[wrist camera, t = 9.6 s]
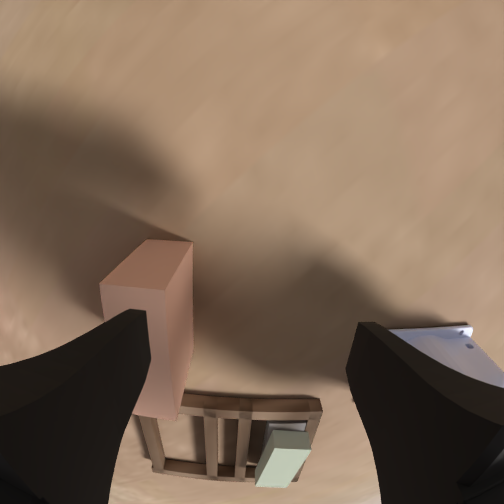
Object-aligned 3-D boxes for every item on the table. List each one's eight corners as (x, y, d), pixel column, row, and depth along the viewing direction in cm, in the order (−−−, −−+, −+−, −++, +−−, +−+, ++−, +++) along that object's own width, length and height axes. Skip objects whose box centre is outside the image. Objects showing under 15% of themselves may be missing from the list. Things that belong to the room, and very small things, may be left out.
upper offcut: (308, 431, 22) (311, 449, 20) (285, 471, 24) (286, 487, 22) (273, 429, 22) (274, 448, 20) (254, 470, 24) (255, 486, 22)
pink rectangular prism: (193, 241, 19) (164, 290, 12) (193, 349, 21) (176, 421, 14) (146, 239, 19) (99, 283, 12) (153, 345, 21) (125, 412, 14)
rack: (319, 398, 23) (322, 411, 21) (295, 470, 26) (297, 481, 25) (136, 386, 22) (131, 398, 21) (155, 461, 26) (153, 472, 25)
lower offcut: (303, 406, 24) (306, 423, 22) (288, 461, 26) (289, 475, 24) (268, 406, 24) (269, 423, 22) (259, 461, 26) (260, 476, 24)
